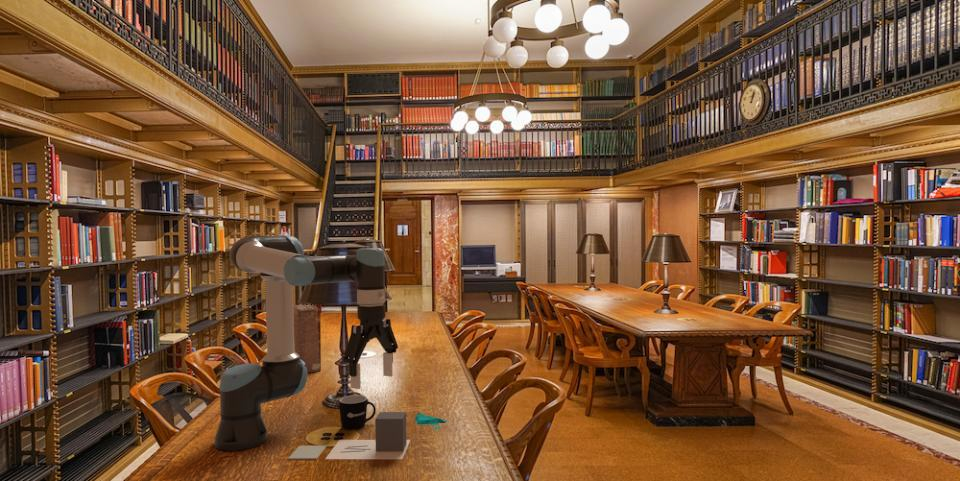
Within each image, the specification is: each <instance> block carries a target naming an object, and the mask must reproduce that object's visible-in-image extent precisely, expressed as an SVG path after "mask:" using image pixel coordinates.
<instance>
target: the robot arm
mask: <svg viewBox="0 0 960 481" xmlns="http://www.w3.org/2000/svg"><path fill="white" fill-rule="evenodd" d="M229 260H230V262H231V264H232V266H233V267H234V268H235V269H236V270H239V271H242V272H244V273H245V272H246V273H251V274H252V273H256V272H257V273H259V276H260V278H261V279H262V280H263V281H264V282H265V286H264V287H265V314H266V315H265V317H266V318H265V320H266V322H265V323H266V355H264V357H262V358H261V359H262V362H261V363H262V365H260V364H259V363H257V362H248V363H243V364H242V363H241V364H238V365H234V366H232V367H230V368H227V369H226V370H224V371H223V373H222V374H221V375H220V380H219V381H220V382H219V395H220V396H219V398H220V399H219V402H220V404H219V405H220V407H219V408H220V419H219V424H218V426H217V427H218V428H217V430H216V433H215V436H214V448H215V447H216V448H217V449H216V448H215V449H216V450H219V449H220V450H219V451H223V450H226V451H225V452H236V451H244V450H248V449H252V448H256V447H258V446H260V445H262V444H264V443H265V442H266V441H267V440H268V429H267V426H266V424H265V421H264V419H263V416H262V404H265V403H269V402H273V401H277V400H280V399H281V400H282V399H284V398H286V399H287V398H291V397H292V396H296V395H298V394H299V393H301V392H302V391H303V389H304V388H305V386H306V384H307V382H308V373H307V368H306V367H305V363H304V361H302V360H301V359H299V355H298V354H297V353H296V352H295V349H294V309H293V305H294V287H295V286H299V287H306V286H311V285H318V284H319V285H321V284H334V283H346V282H348V283H349V282H351V283H352V282H354V283H356V303H357V304H358V306H357V313H356V314H357V319H358V320H359V323H360V324H359V325H357V324H353V325H351V327H350V328H351V329H350V335H349V338H348V342H347V346H346V349H345V352H344V355H343V359H342V362H343V363H346V364H348V368H349V370H348V371H349V377H350V389H356V390H360V389H361V387H362V386H361V363H359V361H360V359H361V357H362V355H363V353H364V351H365V348H366V346H367V344H368V343H369V342H370V341H371V340H373V339H377V341H378V343H379V344H380V346H381V347H382V349H383V350H384V352H383V353H382V360H383V362H382V367H383V368H382V370H383V372H382V373H383V376H386V377H393V376H394V375H393V373H394V372H393V363H394V354H395V353H397V350H398V348H399V345H398V342H397V339H396V336H395V333H394V331H393V328H392V322H391V318H386V305H385V304H384V303H386V289H385V288H386V266H385V265H386V262H385V261H386V260H385V252H384V250H383V249H382V248H379V247H377V248H375V247H373V248H372V247H370V248H367V247H366V248H357V250H356V255H353V254H352V255H351V254H345V253H344V254H338V255H324V256H323V255H322V256H308V255H305V251H304V248H303V245H302V243H301V242H300V240H299V239H298V238H297V237H295V236H292V235H284V234H279V235H247V236H244V237H241V238H240V239H238V240H236V241H235V242H233V244H232V246H231V248H230V251H229Z"/></svg>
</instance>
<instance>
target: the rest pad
mask: <svg viewBox="0 0 960 481" xmlns="http://www.w3.org/2000/svg"><path fill="white" fill-rule="evenodd" d="M326 448H327V445H299V446H297V448H296V449H295V450H294V451H293V452H292V453H291V454H290V455H289V457H288V459H287V460H317V459H318V458H319V456H320V455H321V454H322V452H323V451H324V450H325V449H326Z"/></svg>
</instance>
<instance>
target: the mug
mask: <svg viewBox="0 0 960 481" xmlns="http://www.w3.org/2000/svg"><path fill="white" fill-rule="evenodd" d="M368 405H371V406H372V410H373V411H372V413H371V415H370V416H369V417H367V414H368ZM338 408H339V418H340V423H341V427H342V429H344V430H346V431H347V430H348V431H354V430H359V429H362V428H364V427H365V425H366V423H367V422H369V421H370V420H372V419H373V418H374V417H375V415H376V411H377V410H376V406H375V404H374V403H373V402H372V401H369V400H368V398H367V396H365V395H360V394H356V395H355V394H353V395H346V396H343V397H341V398H340V399H339V401H338Z"/></svg>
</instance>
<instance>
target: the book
mask: <svg viewBox="0 0 960 481" xmlns="http://www.w3.org/2000/svg"><path fill="white" fill-rule="evenodd" d="M293 309H294V349H295V352H296V353H297V354H298V355H299V359H301V360H302V361H304V363H305V367H306V368H307V374H309V373H310V374H311V373H317V372H318V373H319V372H321V371H322V360H321V358H322V356H321V355H322V352H321V350H322V348H321V346H322V345H321V344H322V342H321V341H322V339H321V338H322V336H321V334H322V333H321V308H319V307H317V306H315V305H314V304H312V305H306V304H295V305H294V304H293Z"/></svg>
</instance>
